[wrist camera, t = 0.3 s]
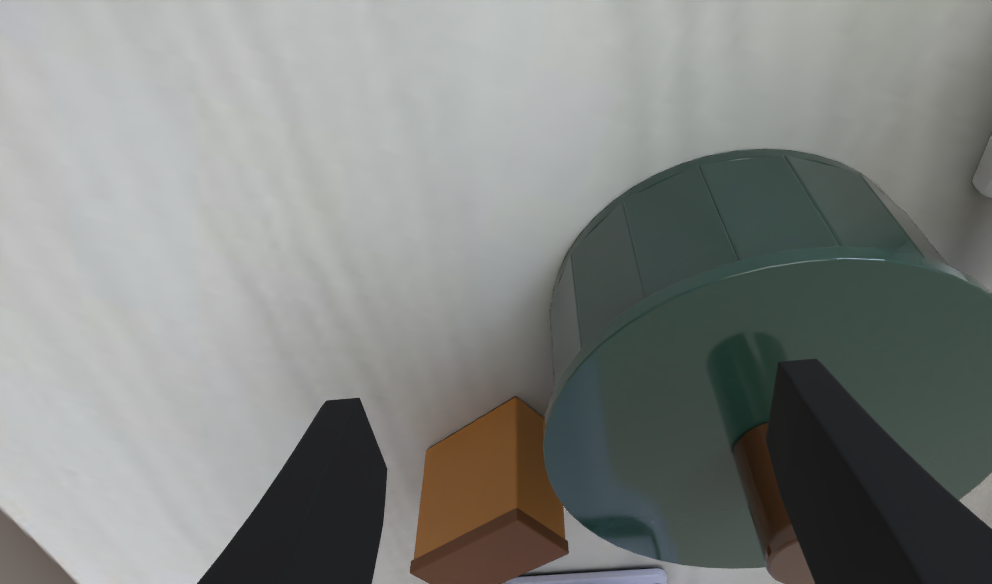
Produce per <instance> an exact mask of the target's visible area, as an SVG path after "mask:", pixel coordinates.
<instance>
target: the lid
mask: <svg viewBox="0 0 992 584" xmlns="http://www.w3.org/2000/svg"><path fill="white" fill-rule="evenodd" d="M805 359H817V360H819V361H820V362H821V363H822V364H823V365H824V366H825V367H826V368H827V369H828V370H829V372H830V373H831V374H832V375H833V376H834V377H835V378H836V379H837V380H838V381H839V383H840V384H841V385H842V386H843V387H844V388H845V389H846V390H847V391H848V392H849V393H850V395H851V396H852V397H853V398H854V399H855V400H856V401H857V402H858V403H859V404H860V405H861V406H862V407H863V408H864V409H865V410H866V411H867V413H868V414H869V415H870V416H871V417H872V418H873V419H874V420H875V421H876V422H877V423H878V424H879V425H880V426H881V427H882V428H883V429H884V430H885V431H886V432H887V433H888V434H889V435H890V436H891V437H892V438H893V439H894V440H895V441H896V442H897V443H898V444H899V445H900V446H901V447H902V448H903V449H904V450H905V451H906V452H907V453H908V454H909V455H910V456H911V457H912V458H913V459H914V460H915V461H916V462H917V463H918V464H919V465H921V466H922V467H923V468H924V469H925V470H926V471H927V472H928V473H929V474H930V475H931V476H932V477H933V478H934V479H935V480H936V481H938V482H939V483H940V484H941V485H942V486H943V487H944V488H945V489H946V490H947V491H949V492H950V493H951V494H952V495H953V496H954V497H955V498H956V499H958V500H960V499H961V498H962V497H964V496H965V495H966V494H967V493H969V492H970V491H971V490H972V489H974V488H975V487H976V486H978V485H979V484H980V483H981V482H982V481H983V480H984V479H985V478H986V477H987V476H988V475H989V474H991V473H992V291H991V290H989V289H988V288H986V287H985V286H984V285H982V284H981V283H979V282H978V281H976V280H975V279H974V278H972V277H971V276H969V275H967V274H964V273H962V272H960V271H958V270H956V269H954V268H952V267H950V266H947V265H945V264H943V263H940V262H937V261H933V260H930V259H927V258H923V257H920V256H917V255H913V254H910V253H904V252H898V251H891V250H885V249H879V248H867V247H846V246H832V247H815V248H799V249H792V250H786V251H780V252H774V253H767V254H761V255H757V256H753V257H749V258H745V259H742V260H738V261H734V262H730V263H726V264H722V265H720V266H717V267H714V268H711V269H709V270H706V271H703V272H700V273H698V274H695V275H692V276H689V277H687V278H685V279H683V280H681V281H678V282H676V283H674V284H672V285H670V286H668V287H666V288H664V289H662V290H660V291H658V292H656V293H654V294H652V295H650V296H649V297H647V298H645V299H644V300H642V301H641V302H639V303H637V304H636V305H634V306H632V307H631V308H629V309H628V310H626V311H624V312H623V313H622V314H621V315H619V316H618V317H617V318H615V319H614V320H613V321H612V322H610V323H609V324H608V325H606V326H605V327H604V328H603V329H601V330H600V331H599V332H598V333H597V334H596V335H595V336H594V337H593V338H592V339H591V340H590V341H589V342H588V343H587V344H586V345H585V346H584V347H583V348H582V349H581V350H580V351H579V352H578V354H577V355H576V356H575V358H574V359H573V360H572V361H571V363H570V364H569V365H568V367H567V368H566V369H565V371H564V372H563V374H562V376H561V378H560V379H559V381H558V383H557V385H556V387H555V389H554V391H553V392H552V395H551V397H550V400H549V403H548V406H547V409H546V412H545V417H544V424H543V432H542V441H543V457H544V466H545V469H546V473H547V476H548V480H549V482H550V484H551V486H552V488H553V490H554V492H555V494H556V496H557V498H558V499H559V500H560V502H561V503H562V504H563V506H564V507H565V508H566V509H567V511H568V512H569V513H570V514H571V515H572V516H573V517H574V518H575V519H576V520H578V521H579V522H580V523H581V524H582V525H583V526H584V527H586V528H587V529H589V530H590V531H592V532H593V533H595V534H596V535H597V536H599V537H601V538H603V539H604V540H606V541H608V542H610V543H612V544H614V545H616V546H618V547H621V548H623V549H626V550H628V551H631V552H633V553H636V554H639V555H642V556H646V557H649V558H653V559H656V560H660V561H665V562H671V563H676V564H681V565H689V566H698V567H707V568H760V567H766V569H767V571H768V573H769V574H770V575H771V576H772V577H773V578H774V579H775V580H777V581H779V582H781V583H784V584H815V582H814V580H813V577H812V575H811V572H810V570H809V567H808V565H807V562H806V560H805V557H804V555H803V552H802V550H801V547H800V545H799V542H798V540H797V537H796V535H795V532H794V530H793V527H792V524H791V522H790V519H789V517H788V514H787V512H786V509H785V507H784V504H783V501H782V499H781V496H780V492H779V489H778V485H777V481H776V478H775V474H774V470H773V466H772V463H771V459H770V455H769V451H768V447H767V443H766V436H767V430H768V423H769V417H770V411H771V404H772V398H773V392H774V385H775V379H776V372H777V366H778V362H782V361H793V360H805Z"/></svg>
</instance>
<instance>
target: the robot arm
mask: <svg viewBox="0 0 992 584" xmlns="http://www.w3.org/2000/svg"><path fill="white" fill-rule="evenodd" d="M766 443H767V447H768V451H769V455H770V459H771V463H772V466H773V470H774V474H775V478H776V481H777V485H778V489H779V492H780V496H781V499H782V501H783V504H784V507H785V509H786V512H787V514H788V517H789V519H790V522H791V524H792V527H793V530H794V532H795V535H796V537H797V540H798V542H799V545H800V547H801V550H802V552H803V555H804V557H805V560H806V562H807V565H808V567H809V570H810V572H811V575H812V577H813V580H814V582H815V584H992V529H991V528H990V527H989V526H987V525H986V524H985V523H984V522H983V521H982V520H980V519H979V518H978V517H977V516H976V515H975V514H973V513H972V512H971V511H970V510H969V509H968V508H967V507H965V506H964V505H963V504H962V503H961V502H960V501H959V500H958V499H956V498H955V497H954V496H953V495H952V494H951V493H950V492H949V491H947V490H946V489H945V488H944V487H943V486H942V485H941V484H940V483H939V482H938V481H936V480H935V479H934V478H933V477H932V476H931V475H930V474H929V473H928V472H927V471H926V470H925V469H924V468H923V467H922V466H921V465H919V464H918V463H917V462H916V461H915V460H914V459H913V458H912V457H911V456H910V455H909V454H908V453H907V452H906V451H905V450H904V449H903V448H902V447H901V446H900V445H899V444H898V443H897V442H896V441H895V440H894V439H893V438H892V437H891V436H890V435H889V434H888V433H887V432H886V431H885V430H884V429H883V428H882V427H881V426H880V425H879V424H878V423H877V422H876V421H875V420H874V419H873V418H872V417H871V416H870V415H869V414H868V413H867V411H866V410H865V409H864V408H863V407H862V406H861V405H860V404H859V403H858V402H857V401H856V400H855V399H854V398H853V397H852V396H851V395H850V393H849V392H848V391H847V390H846V389H845V388H844V387H843V386H842V385H841V384H840V383H839V381H838V380H837V379H836V378H835V377H834V376H833V375H832V374H831V373H830V372H829V370H828V369H827V368H826V367H825V366H824V365H823V364H822V363H821V362H820V361H819V360H817V359H805V360H793V361H782V362H778V366H777V372H776V379H775V385H774V392H773V398H772V404H771V411H770V417H769V423H768V430H767V436H766ZM386 480H387V467H386V464H385V462H384V459H383V457H382V454H381V452H380V449H379V446H378V444H377V441H376V439H375V436H374V434H373V431H372V429H371V426H370V423H369V421H368V418H367V416H366V413H365V411H364V408H363V405H362V403H361V400H360V398H352V399H340V400H329V401H326V402H325V403H324V404H323V405H322V407H321V408H320V410H319V412H318V413H317V415H316V416H315V418H314V419H313V421H312V423H311V424H310V426H309V427H308V429H307V431H306V432H305V434H304V435H303V437H302V439H301V440H300V442H299V443H298V445H297V446H296V448H295V450H294V451H293V453H292V454H291V456H290V457H289V459H288V460H287V462H286V463H285V465H284V466H283V468H282V470H281V471H280V473H279V474H278V475H277V477H276V478H275V480H274V481H273V483H272V484H271V486H270V487H269V489H268V490H267V492H266V493H265V494H264V496H263V497H262V499H261V500H260V502H259V503H258V505H257V506H256V508H255V509H254V510H253V512H252V513H251V515H250V516H249V517H248V519H247V520H246V521H245V523H244V524H243V525H242V527H241V528H240V529H239V531H238V532H237V533H236V535H235V536H234V537H233V539H232V540H231V541H230V543H229V544H228V545H227V547H226V548H225V549H224V551H223V552H222V553H221V555H220V556H219V557H218V558H217V560H216V561H215V562H214V563H213V565H212V566H211V567H210V568H209V570H208V571H207V572H206V573H205V575H204V576H203V577H202V578H201V579H200V581H199V582H198V583H197V584H372V579H373V574H374V569H375V564H376V559H377V554H378V548H379V543H380V538H381V533H382V527H383V519H384V508H385V495H386ZM505 584H667V576H666V572H665V571H664V570H662V569H659V568H653V569H637V570H621V571H605V572H589V573H573V574H557V575H541V576H525V577H515V578H513V579H511V580H508V581H506V582H505Z"/></svg>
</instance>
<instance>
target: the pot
mask: <svg viewBox="0 0 992 584" xmlns="http://www.w3.org/2000/svg"><path fill="white" fill-rule="evenodd" d="M832 246H846V247H867V248H879V249H885V250H891V251H898V252H904V253H910V254H913V255H917V256H920V257H923V258H927V259H930V260H933V261H937V262H940V263H943V264H945V265H947V266H949V265H948V264H947V263H946V261H945V260H944V259H943V258H942V256H941V255H940V254H939V253H938V251H937V250H936V249H935V248H934V246H933V245H932V244H931V243H930V242H929V240H928V239H927V238H926V237H925V235H924V234H923V233H922V232H921V230H920V229H919V228H918V227H917V225H916V224H915V223H914V222H913V220H912V219H911V218H910V217H909V215H908V214H907V213H906V212H905V211H903V210H902V209H901V208H900V207H899V206H898V205H896V204H895V203H894V202H893V201H892V200H891V199H890V198H889V197H888V196H887V195H886V194H885V192H884V191H883V190H882V189H881V188H880V187H879V186H878V185H877V184H875V183H874V182H872V181H871V180H870V179H868V178H867V177H865V176H864V175H863V174H861V173H860V172H858V171H856V170H854V169H852V168H850V167H848V166H846V165H844V164H842V163H840V162H837V161H834V160H830V159H827V158H824V157H821V156H818V155H814V154H808V153H803V152H797V151H791V150H774V149H756V150H741V151H732V152H727V153H721V154H716V155H710V156H706V157H703V158H700V159H696V160H693V161H689V162H686V163H683V164H680V165H678V166H675V167H673V168H670V169H668V170H666V171H663V172H661V173H658V174H656V175H654V176H653V177H651V178H649V179H647V180H645V181H644V182H642V183H640V184H638V185H636V186H634V187H633V188H631V189H630V190H629V191H627V192H626V193H624V194H623V195H621V196H620V197H619V198H617V199H616V200H614V201H613V202H612V203H611V204H610V205H608V206H607V207H606V208H605V209H604V210H603V211H602V212H601V213H599V214H598V215H597V216H596V217H595V218H594V219H593V220H592V221H591V223H590V224H589V225H588V226H587V227H586V228H585V229H584V231H583V232H582V233H581V234H580V235H579V237H578V238H577V240H576V241H575V243H574V244H573V246H572V247H571V249H570V250H569V252H568V253H567V255H566V257H565V260H564V262H563V264H562V266H561V268H560V270H559V273H558V276H557V279H556V283H555V286H554V289H553V297H552V303H551V305H550V325H551V341H552V356H553V371H554V387H556V385H557V383H558V381H559V379H560V378H561V376H562V374H563V372H564V371H565V369H566V368H567V367H568V365H569V364H570V363H571V361H572V360H573V359H574V358H575V356H576V355H577V354H578V352H579V351H580V350H581V349H582V348H583V347H584V346H585V345H586V344H587V343H588V342H589V341H590V340H591V339H592V338H593V337H594V336H595V335H596V334H597V333H598V332H599V331H600V330H601V329H603V328H604V327H605V326H606V325H608V324H609V323H610V322H612V321H613V320H614V319H615V318H617V317H618V316H619V315H621V314H622V313H623V312H624V311H626V310H628V309H629V308H631V307H632V306H634V305H636V304H637V303H639V302H641V301H642V300H644V299H645V298H647V297H649V296H650V295H652V294H654V293H656V292H658V291H660V290H662V289H664V288H666V287H668V286H670V285H672V284H674V283H676V282H678V281H681V280H683V279H685V278H687V277H689V276H692V275H695V274H698V273H700V272H703V271H706V270H709V269H711V268H714V267H717V266H720V265H722V264H726V263H730V262H734V261H738V260H742V259H745V258H749V257H753V256H757V255H761V254H767V253H774V252H780V251H786V250H792V249H799V248H815V247H832Z"/></svg>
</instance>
